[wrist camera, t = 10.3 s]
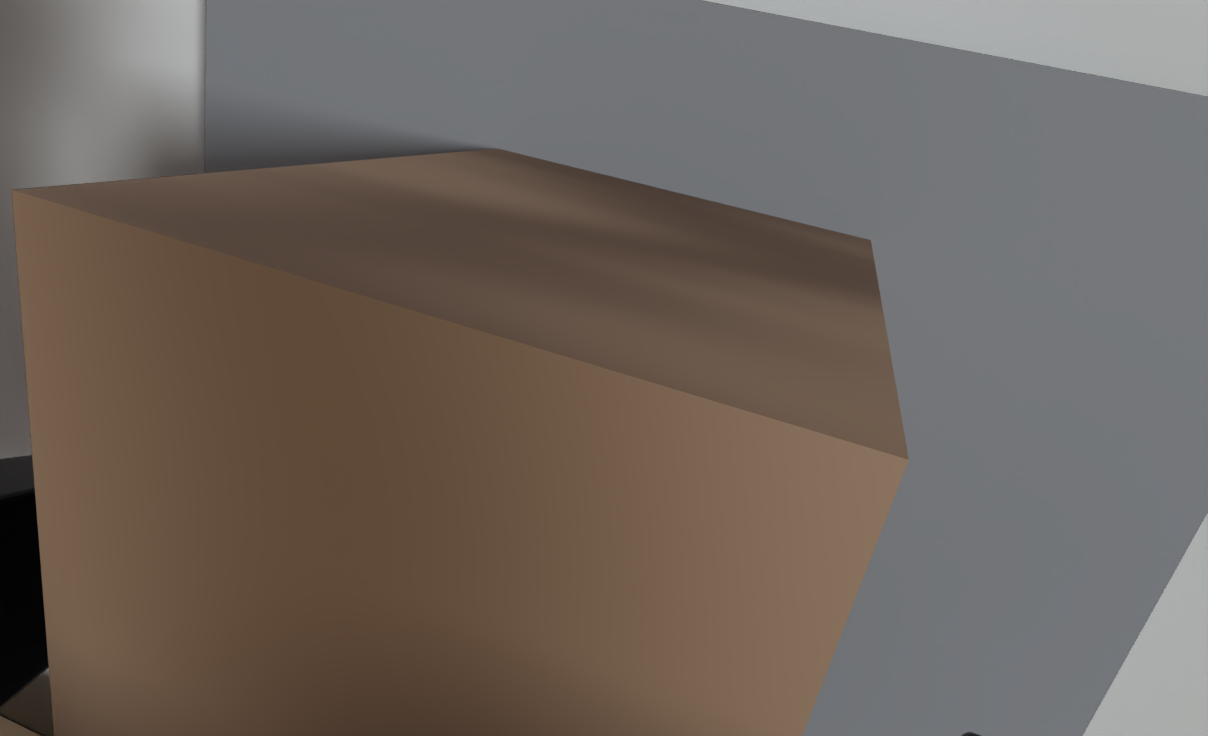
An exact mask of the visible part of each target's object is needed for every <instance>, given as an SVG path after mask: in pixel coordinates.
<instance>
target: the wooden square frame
mask: <svg viewBox="0 0 1208 736" xmlns="http://www.w3.org/2000/svg"><path fill="white" fill-rule="evenodd" d="M0 736H41V735H39V734H37V733H35V732H33V731H31V730H28V729H26V728H24V727H22V726H20V725H18V724H16V723H14V722H12V721H10V720H8V719H6V718H4V717H2V716H0Z"/></svg>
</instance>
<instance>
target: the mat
mask: <svg viewBox="0 0 1208 736" xmlns="http://www.w3.org/2000/svg"><path fill="white" fill-rule="evenodd" d="M487 149H502V150H506V151H510V152H514V153H518V154H522V155H527V156H531V157H535V158H539V159H543V160H547V161H551V162H555V163H559V164H563V165H567V166H571V167H575V168H579V169H584V170H588V171H592V172H596V173H600V174H604V175H608V176H612V177H616V178H620V179H624V180H628V181H632V182H636V183H641V184H645V185H649V186H653V187H657V188H661V189H665V190H669V191H673V192H677V193H681V194H685V195H689V196H693V197H698V198H702V199H706V200H710V201H714V202H718V203H722V204H726V205H730V206H734V207H738V208H742V209H746V210H750V211H755V212H759V213H763V214H767V215H771V216H775V217H779V218H783V219H787V220H791V221H795V222H799V223H803V224H807V225H812V226H816V227H820V228H824V229H828V230H832V231H836V232H840V233H844V234H848V235H852V236H856V237H860V238H864V239H869V240H871V244H872V250H873V256H874V261H875V267H876V273H877V279H878V284H879V290H880V296H881V302H882V308H883V313H884V319H885V325H886V331H887V336H888V342H889V348H890V354H891V359H892V365H893V371H894V377H895V383H896V388H897V394H898V400H899V406H900V411H901V417H902V423H903V429H904V434H905V440H906V446H907V452H908V458H909V461H908V463H907V466H906V469H905V471H904V474H903V476H902V479H901V481H900V484H899V487H898V489H897V492H896V494H895V497H894V500H893V502H892V505H891V507H890V510H889V513H888V515H887V518H886V520H885V523H884V525H883V528H882V531H881V533H880V536H879V538H878V541H877V544H876V546H875V549H874V551H873V554H872V556H871V559H870V562H869V564H868V567H867V569H866V572H865V575H864V577H863V580H862V582H861V585H860V588H859V590H858V593H857V595H856V598H855V600H854V603H853V606H852V608H851V611H850V613H849V616H848V619H847V621H846V624H845V626H844V629H843V631H842V634H841V637H840V639H839V642H838V644H837V647H836V650H835V652H834V655H833V657H832V660H831V662H830V665H829V668H828V670H827V673H826V675H825V678H824V681H823V683H822V686H821V688H820V691H819V694H818V696H817V699H816V701H815V704H814V706H813V709H812V712H811V714H810V717H809V719H808V722H807V725H806V727H805V730H804V732H803V735H802V736H961V735H962V734H964V733H967V732H973V733H976V734H979V735H981V736H1083V734H1084V732H1085V730H1086V729H1087V727H1088V725H1089V723H1090V721H1091V720H1092V718H1093V716H1094V714H1095V713H1096V711H1097V709H1098V707H1099V705H1100V704H1101V702H1102V700H1103V698H1104V696H1105V695H1106V693H1107V691H1108V689H1109V688H1110V686H1111V684H1112V682H1113V680H1114V679H1115V677H1116V675H1117V673H1118V671H1119V670H1120V668H1121V666H1122V664H1123V663H1124V661H1125V659H1126V657H1127V655H1128V654H1129V652H1130V650H1131V648H1132V646H1133V645H1134V643H1135V641H1136V639H1137V638H1138V636H1139V634H1140V632H1141V630H1142V629H1143V627H1144V625H1145V623H1146V622H1147V620H1148V618H1149V616H1150V614H1151V613H1152V611H1153V609H1154V607H1155V605H1156V604H1157V602H1158V600H1159V598H1160V597H1161V595H1162V593H1163V591H1164V589H1165V588H1166V586H1167V584H1168V582H1169V580H1170V579H1171V577H1172V575H1173V573H1174V572H1175V570H1176V568H1177V566H1178V564H1179V563H1180V561H1181V559H1182V557H1183V555H1184V554H1185V552H1186V550H1187V548H1188V547H1189V545H1190V543H1191V541H1192V539H1193V538H1194V536H1195V534H1196V532H1197V531H1198V529H1199V527H1200V525H1201V523H1202V522H1203V520H1204V518H1205V516H1206V514H1207V513H1208V97H1207V96H1202V95H1197V94H1191V93H1186V92H1181V91H1176V90H1170V89H1165V88H1160V87H1155V86H1149V85H1144V84H1139V83H1134V82H1128V81H1123V80H1118V79H1113V78H1107V77H1102V76H1097V75H1092V74H1086V73H1081V72H1076V71H1071V70H1065V69H1060V68H1055V67H1049V66H1044V65H1039V64H1034V63H1028V62H1023V61H1018V60H1013V59H1007V58H1002V57H997V56H992V55H986V54H981V53H976V52H971V51H965V50H960V49H955V48H950V47H944V46H939V45H934V44H929V43H923V42H918V41H913V40H908V39H902V38H897V37H892V36H887V35H881V34H876V33H871V32H865V31H860V30H855V29H850V28H844V27H839V26H834V25H829V24H823V23H818V22H813V21H808V20H802V19H797V18H792V17H787V16H781V15H776V14H771V13H766V12H760V11H755V10H750V9H745V8H739V7H734V6H729V5H724V4H718V3H713V2H708V1H702V0H206V71H205V160H204V173H215V172H227V171H239V170H250V169H262V168H274V167H286V166H298V165H310V164H321V163H333V162H345V161H357V160H369V159H381V158H392V157H404V156H416V155H428V154H440V153H452V152H463V151H475V150H487Z"/></svg>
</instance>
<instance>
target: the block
mask: <svg viewBox="0 0 1208 736" xmlns="http://www.w3.org/2000/svg"><path fill="white" fill-rule="evenodd" d="M12 203H13V216H14V229H15V242H16V254H17V267H18V280H19V293H20V306H21V318H22V331H23V344H24V357H25V370H26V383H27V395H28V408H29V421H30V434H31V447H32V460H33V472H34V485H35V498H36V511H37V524H38V536H39V549H40V562H41V575H42V588H43V601H44V613H45V626H46V639H47V652H48V665H49V678H50V690H51V703H52V716H53V729H54V736H802V735H803V732H804V730H805V727H806V725H807V722H808V719H809V717H810V714H811V712H812V709H813V706H814V704H815V701H816V699H817V696H818V694H819V691H820V688H821V686H822V683H823V681H824V678H825V675H826V673H827V670H828V668H829V665H830V662H831V660H832V657H833V655H834V652H835V650H836V647H837V644H838V642H839V639H840V637H841V634H842V631H843V629H844V626H845V624H846V621H847V619H848V616H849V613H850V611H851V608H852V606H853V603H854V600H855V598H856V595H857V593H858V590H859V588H860V585H861V582H862V580H863V577H864V575H865V572H866V569H867V567H868V564H869V562H870V559H871V556H872V554H873V551H874V549H875V546H876V544H877V541H878V538H879V536H880V533H881V531H882V528H883V525H884V523H885V520H886V518H887V515H888V513H889V510H890V507H891V505H892V502H893V500H894V497H895V494H896V492H897V489H898V487H899V484H900V481H901V479H902V476H903V474H904V471H905V469H906V466H907V463H908V461H909V458H908V452H907V446H906V440H905V434H904V429H903V423H902V417H901V411H900V406H899V400H898V394H897V388H896V383H895V377H894V371H893V365H892V359H891V354H890V348H889V342H888V336H887V331H886V325H885V319H884V313H883V308H882V302H881V296H880V290H879V284H878V279H877V273H876V267H875V261H874V256H873V250H872V244H871V240H869V239H864V238H860V237H856V236H852V235H848V234H844V233H840V232H836V231H832V230H828V229H824V228H820V227H816V226H812V225H807V224H803V223H799V222H795V221H791V220H787V219H783V218H779V217H775V216H771V215H767V214H763V213H759V212H755V211H750V210H746V209H742V208H738V207H734V206H730V205H726V204H722V203H718V202H714V201H710V200H706V199H702V198H698V197H693V196H689V195H685V194H681V193H677V192H673V191H669V190H665V189H661V188H657V187H653V186H649V185H645V184H641V183H636V182H632V181H628V180H624V179H620V178H616V177H612V176H608V175H604V174H600V173H596V172H592V171H588V170H584V169H579V168H575V167H571V166H567V165H563V164H559V163H555V162H551V161H547V160H543V159H539V158H535V157H531V156H527V155H522V154H518V153H514V152H510V151H506V150H502V149H487V150H475V151H463V152H452V153H440V154H428V155H416V156H404V157H392V158H381V159H369V160H357V161H345V162H333V163H321V164H310V165H298V166H286V167H274V168H262V169H250V170H239V171H227V172H215V173H203V174H191V175H179V176H168V177H156V178H144V179H132V180H120V181H108V182H96V183H85V184H73V185H61V186H49V187H37V188H25V189H14V190H12Z"/></svg>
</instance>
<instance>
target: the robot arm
mask: <svg viewBox="0 0 1208 736" xmlns="http://www.w3.org/2000/svg"><path fill="white" fill-rule="evenodd" d="M47 668H49V665H48V652H47V639H46V626H45V613H44V601H43V588H42V575H41V562H40V549H39V536H38V524H37V511H36V498H35V485H34V472H33V460H32V455H30V456H22V457H13V458H5V459H0V709H1V708H2V707H3V706H4V705H5V704H6V703H8V702H9V701H10V700H11V699H12V698H13V697H15V696H16V695H17V694H18V693H19V692H20V691H22V690H23V689H24V688H25V687H26V686H28V685H29V684H30V683H31V682H32V681H33V680H35V679H36V678H37V677H38V676H39V675H40V674H42V673H43V672H44V671H45V670H46V669H47ZM961 736H981V735H979V734H976V733H973V732H967V733H964V734H962V735H961Z"/></svg>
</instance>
